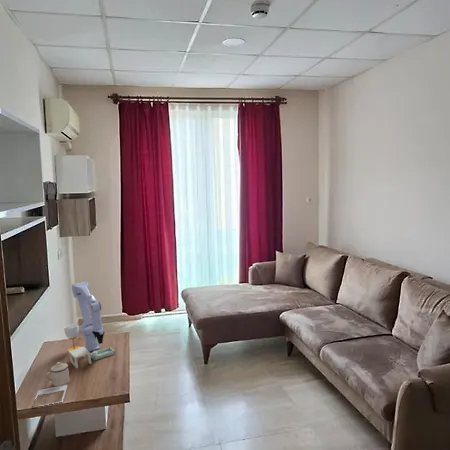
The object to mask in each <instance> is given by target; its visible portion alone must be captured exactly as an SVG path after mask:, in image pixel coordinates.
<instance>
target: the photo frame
mask: <svg viewBox="0 0 450 450" xmlns="http://www.w3.org/2000/svg"><path fill="white" fill-rule="evenodd" d="M67 389H68V384H65V385H63V386H53V387H49V388H48V387H47V388H43V389H38V390H37V392H36V395H35V397H34V400H35V399H36V398H37V399H38V397H39V396H42V395H43V394H45V395H50V394H54V392H55V393H60V392H63V395H62V398H61V401H57V402H52V404H53V405H55V404H54V403H58V404H60V403H59V402H64V400H63V399H65V396H66V391H67ZM59 391H60V392H59ZM38 395H39V396H38ZM37 396H38V397H37ZM37 399H36V400H37ZM49 404H50V403H45V404H41V405H39V406H43V407H45V406H44V405H48V406H50V405H49Z"/></svg>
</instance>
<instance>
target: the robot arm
mask: <svg viewBox="0 0 450 450" xmlns="http://www.w3.org/2000/svg"><path fill="white" fill-rule="evenodd" d="M71 292H72V295H73V297H74V298H76V299H77V302H78V306H79V310H80V313H81V317H82V320H83V322H82V324H81V325H80V333H81V335H82V337H83V338H84V347H85V348H86V349H87V350H88V351H89V352H90V353H91V352H92V351H93V352H94V351H97V350H100V348H101V346H97V343H96V337H97V340H98V343H99V344H101V343H102V344H103V342H104V341H103V340H104V335H105V331H104V327H103V323H102V322H103V321H102V315H101V311H102V304H101V302H100V301H99V300H97V299H96V298H95V296H94V295H93V294H91V293H90V284H89V282H88V281H83V282H78V283H72V284H71Z"/></svg>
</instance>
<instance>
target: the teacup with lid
mask: <svg viewBox="0 0 450 450" xmlns="http://www.w3.org/2000/svg"><path fill="white" fill-rule="evenodd" d="M49 374H51V378H49V376H48V375H49ZM45 379H46V380H47V381H48V382H49V381H50V382H51V381H52V385H53V387H57V386H63V385H68V383H69V382H70V372H69V365H68V364H67V363H65V362H63V363H62V362H61V361H58V362H56V364H55V365H53V366H52V367H51V368H50V371H48V372H47V373H46V374H45Z"/></svg>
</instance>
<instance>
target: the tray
mask: <svg viewBox="0 0 450 450" xmlns="http://www.w3.org/2000/svg"><path fill="white" fill-rule="evenodd" d="M115 354H116V353H115V349H113V347H111V346H109V347H108V346H107V347H106V348H101V349H98V350H93V352H92V351H91V352H90V356H91V360H93V361H98V360H101V359H104V358H107V357H111V356H112V355H115Z"/></svg>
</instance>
